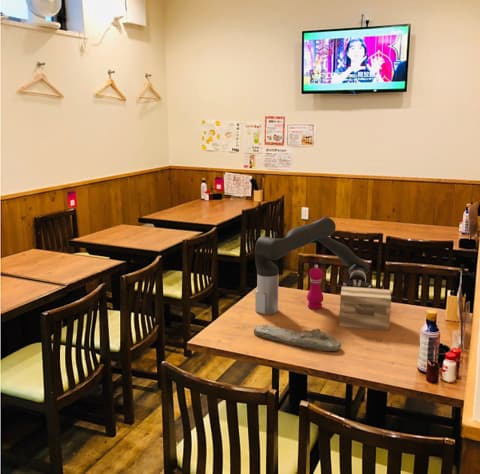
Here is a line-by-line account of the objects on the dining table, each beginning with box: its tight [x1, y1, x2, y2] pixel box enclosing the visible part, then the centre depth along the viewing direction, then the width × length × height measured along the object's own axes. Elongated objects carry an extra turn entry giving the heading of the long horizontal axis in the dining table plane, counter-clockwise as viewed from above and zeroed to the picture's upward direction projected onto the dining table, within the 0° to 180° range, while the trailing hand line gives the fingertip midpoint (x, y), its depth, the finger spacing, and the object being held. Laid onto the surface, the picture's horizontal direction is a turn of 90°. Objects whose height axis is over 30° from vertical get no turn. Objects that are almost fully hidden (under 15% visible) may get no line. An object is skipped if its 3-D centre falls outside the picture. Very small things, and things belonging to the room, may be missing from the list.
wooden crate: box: [338, 285, 392, 331], centre depth 209 cm, size 11×20×14 cm, turn 76°
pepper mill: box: [306, 264, 324, 310], centre depth 226 cm, size 7×7×20 cm
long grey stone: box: [253, 324, 342, 352], centre depth 194 cm, size 35×5×10 cm
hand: (356, 290), depth 227 cm, fingers closed
